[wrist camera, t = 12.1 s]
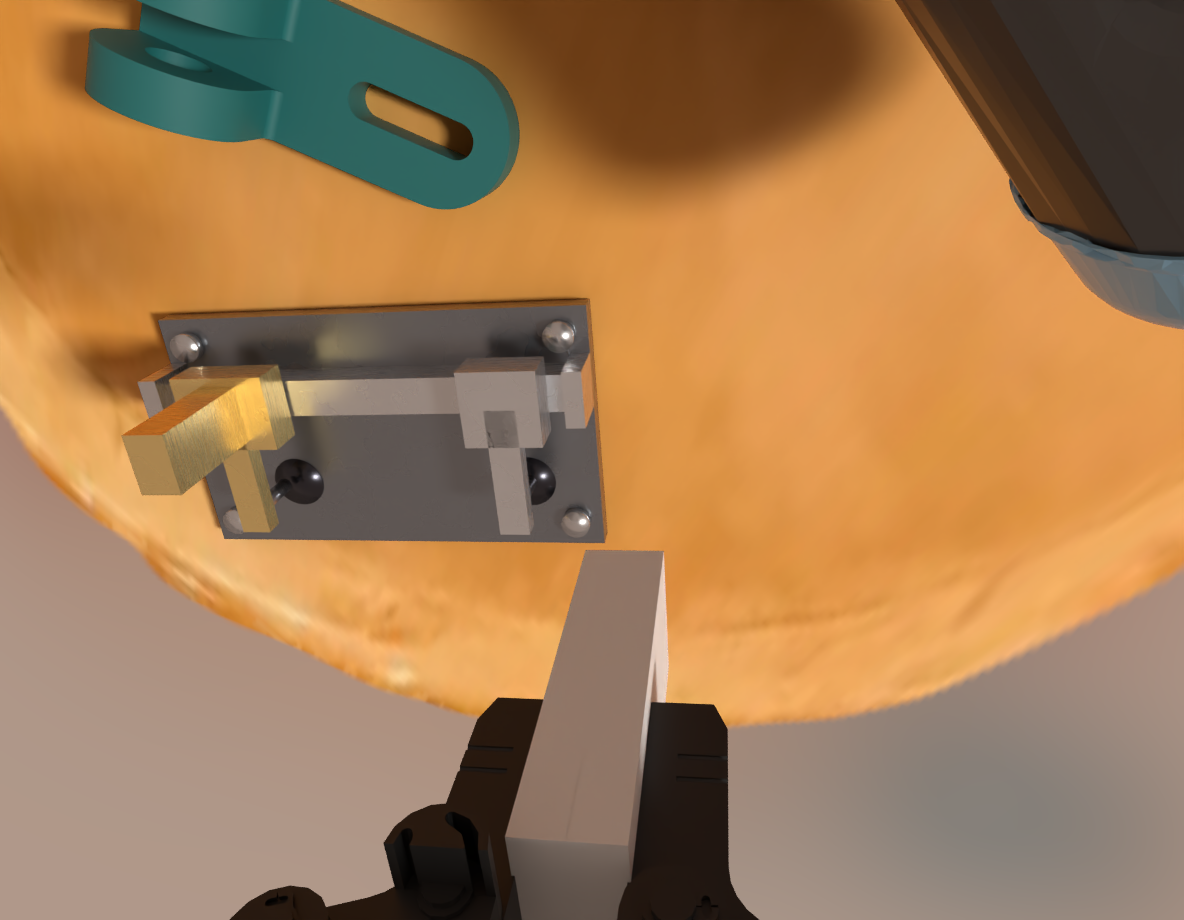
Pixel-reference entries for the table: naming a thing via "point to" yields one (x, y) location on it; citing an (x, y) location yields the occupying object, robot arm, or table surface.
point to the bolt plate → (404, 423)
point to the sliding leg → (217, 437)
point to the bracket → (308, 89)
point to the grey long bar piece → (446, 407)
